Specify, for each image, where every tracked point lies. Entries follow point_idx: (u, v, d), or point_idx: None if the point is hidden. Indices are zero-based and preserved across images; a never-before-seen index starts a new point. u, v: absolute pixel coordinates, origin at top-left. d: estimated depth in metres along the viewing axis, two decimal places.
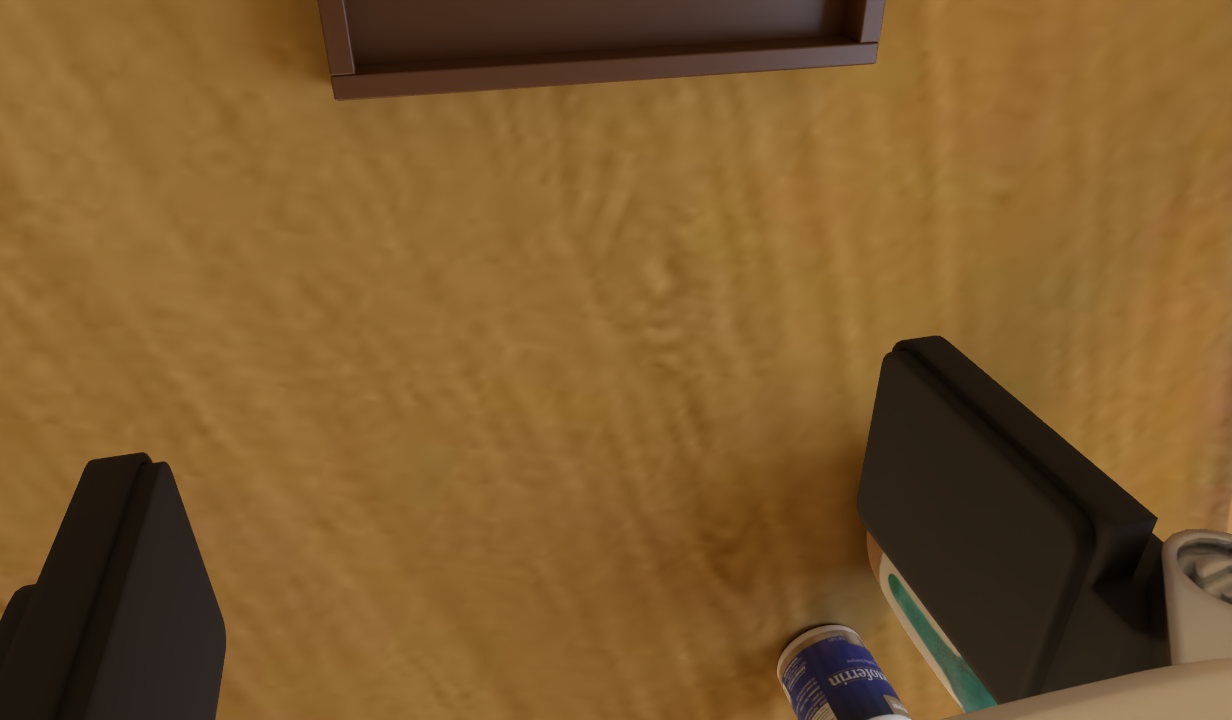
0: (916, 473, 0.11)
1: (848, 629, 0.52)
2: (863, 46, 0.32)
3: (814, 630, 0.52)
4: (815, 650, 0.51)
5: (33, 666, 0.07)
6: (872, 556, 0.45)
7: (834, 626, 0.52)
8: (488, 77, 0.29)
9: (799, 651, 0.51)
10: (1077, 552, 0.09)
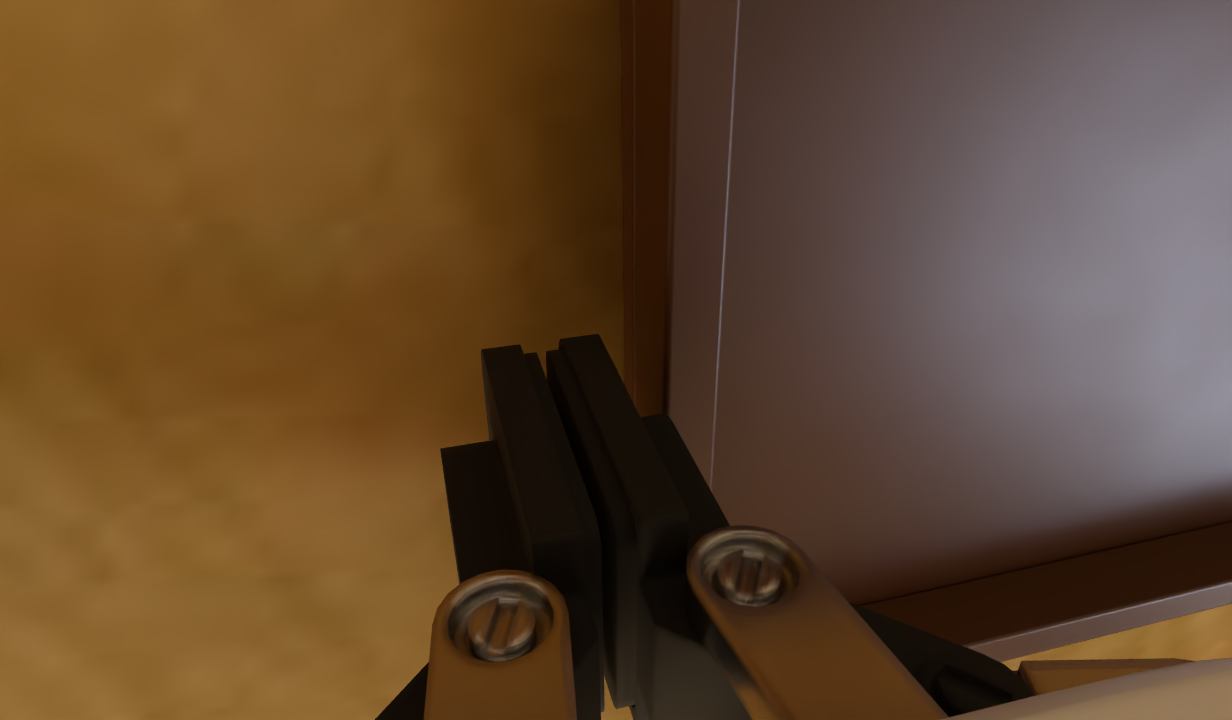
0: None
1: None
2: None
3: None
4: None
5: (541, 480, 0.09)
6: None
7: None
8: None
9: None
10: (621, 548, 0.09)
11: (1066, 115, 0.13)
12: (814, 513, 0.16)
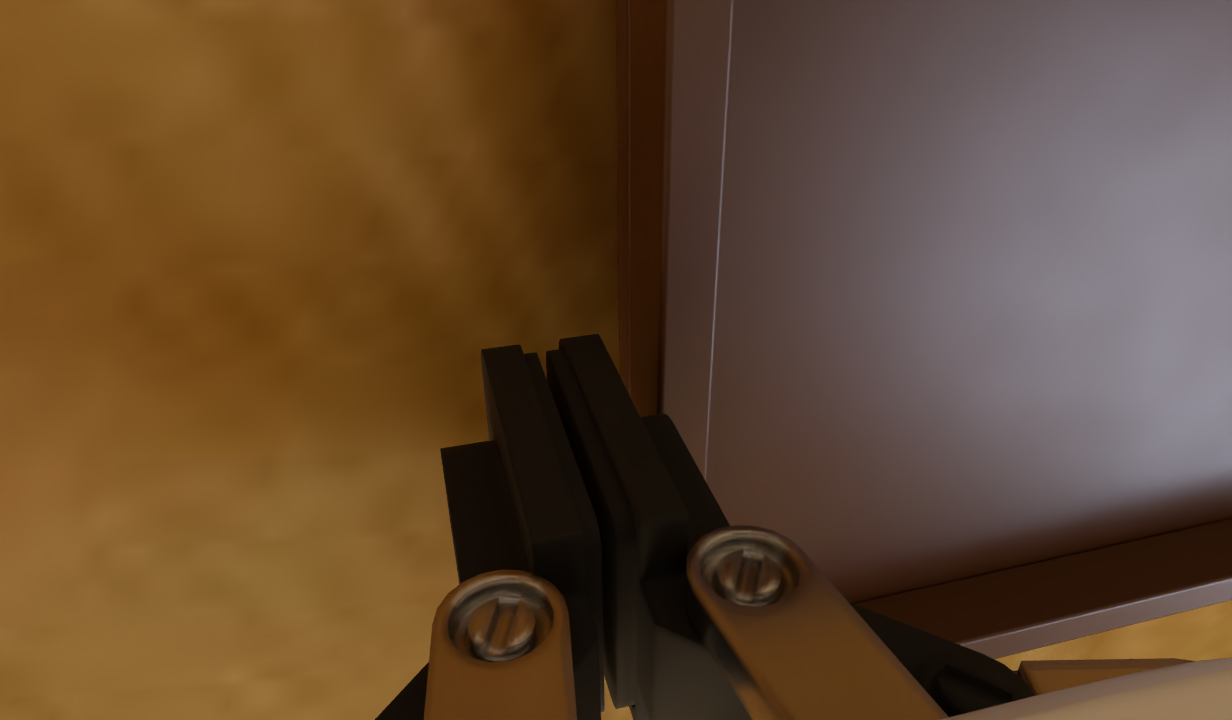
0: None
1: None
2: None
3: None
4: None
5: (541, 480, 0.09)
6: None
7: None
8: None
9: None
10: (621, 549, 0.09)
11: (1059, 116, 0.13)
12: (808, 511, 0.16)
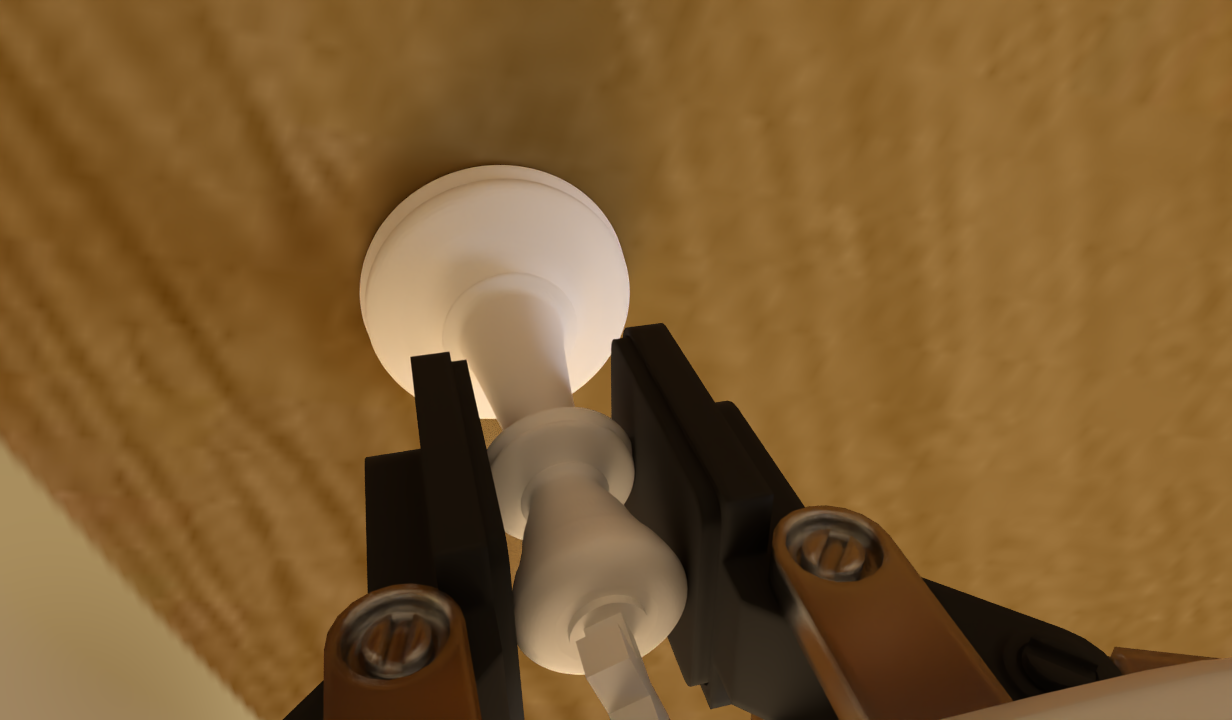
0: (633, 457, 0.11)
1: None
2: None
3: None
4: None
5: (451, 491, 0.09)
6: None
7: None
8: None
9: None
10: (705, 528, 0.09)
11: None
12: None
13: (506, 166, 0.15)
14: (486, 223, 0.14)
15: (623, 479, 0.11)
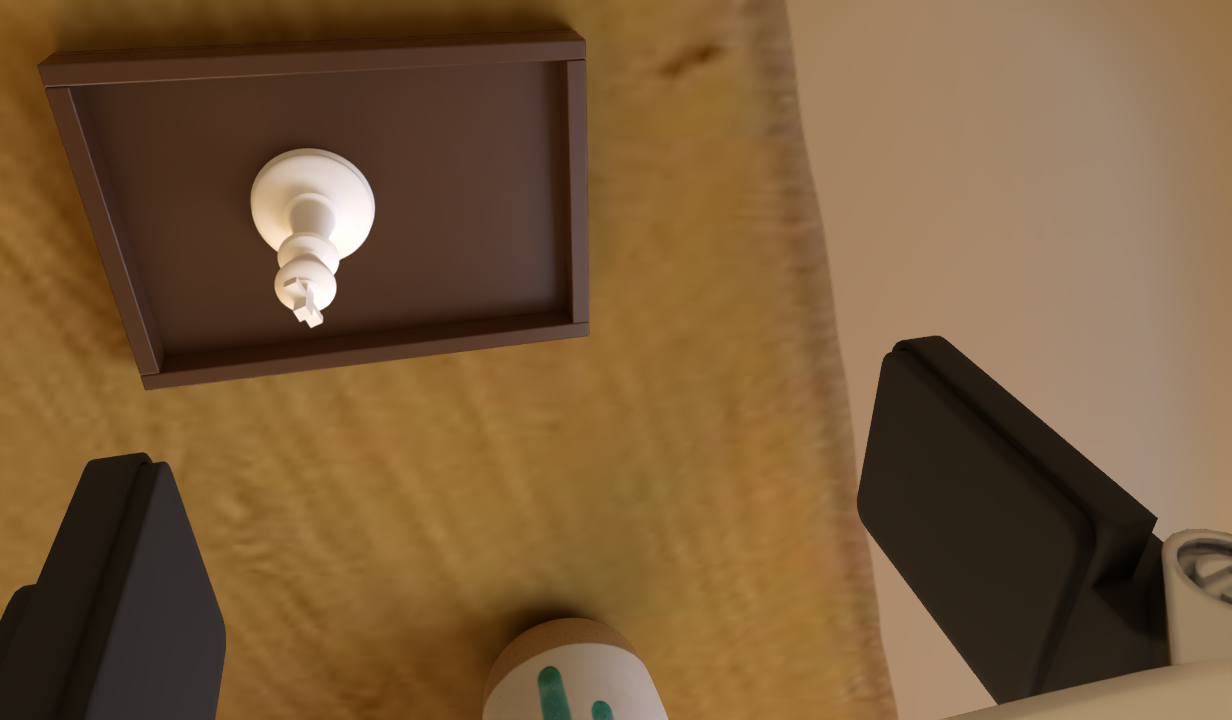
0: (916, 473, 0.11)
1: None
2: (576, 325, 0.41)
3: None
4: None
5: (33, 666, 0.07)
6: None
7: None
8: (267, 367, 0.38)
9: None
10: (1077, 552, 0.09)
11: (259, 129, 0.34)
12: (214, 294, 0.37)
13: (311, 149, 0.35)
14: (299, 172, 0.34)
15: (331, 260, 0.32)
